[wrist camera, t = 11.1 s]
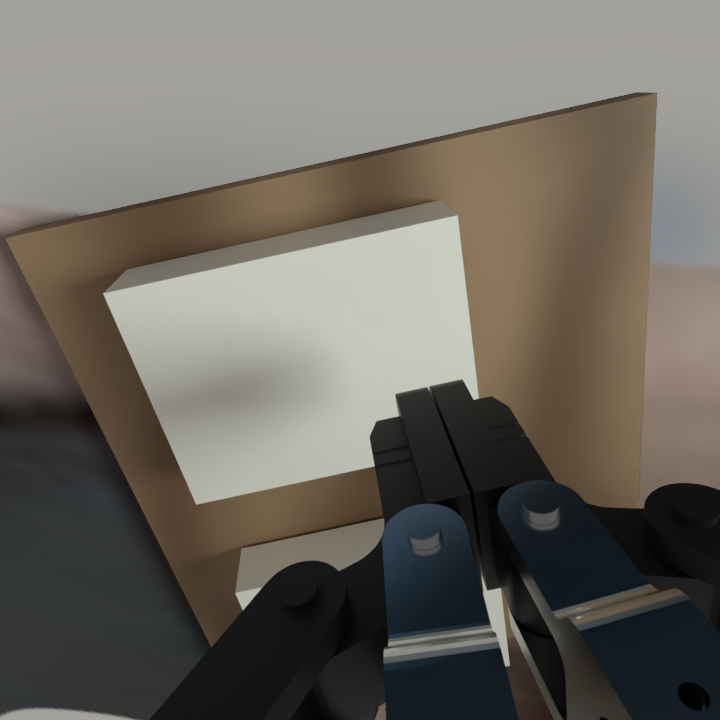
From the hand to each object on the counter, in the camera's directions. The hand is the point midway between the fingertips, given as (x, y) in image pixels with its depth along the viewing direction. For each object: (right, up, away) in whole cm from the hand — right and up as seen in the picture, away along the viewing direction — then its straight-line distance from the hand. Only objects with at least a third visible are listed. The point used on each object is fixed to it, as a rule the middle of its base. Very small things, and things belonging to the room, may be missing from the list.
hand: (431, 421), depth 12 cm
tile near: (+1, +2, +4) cm, 5 cm away
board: (0, -2, +8) cm, 9 cm away
